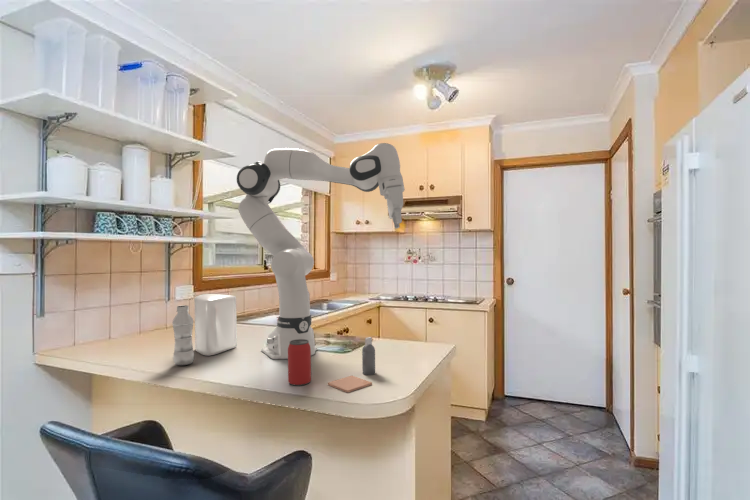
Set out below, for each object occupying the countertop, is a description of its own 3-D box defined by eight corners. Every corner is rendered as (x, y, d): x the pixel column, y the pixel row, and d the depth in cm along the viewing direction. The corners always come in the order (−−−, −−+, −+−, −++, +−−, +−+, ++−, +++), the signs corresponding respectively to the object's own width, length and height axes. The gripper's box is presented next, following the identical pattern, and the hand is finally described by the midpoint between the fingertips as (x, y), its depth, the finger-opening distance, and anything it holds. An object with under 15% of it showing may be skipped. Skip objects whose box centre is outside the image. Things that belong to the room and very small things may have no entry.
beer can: (289, 379, 120) (289, 339, 120) (311, 378, 121) (311, 338, 121) (286, 386, 114) (286, 344, 114) (310, 385, 114) (309, 343, 114)
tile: (327, 384, 115) (327, 382, 115) (351, 377, 121) (351, 375, 121) (347, 392, 108) (347, 390, 108) (372, 384, 115) (372, 382, 115)
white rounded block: (211, 357, 147) (210, 296, 147) (181, 354, 152) (179, 295, 151) (238, 347, 161) (237, 292, 161) (210, 344, 166) (209, 291, 166)
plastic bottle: (184, 368, 133) (183, 307, 133) (168, 366, 135) (167, 307, 135) (198, 363, 139) (197, 305, 139) (183, 361, 141) (182, 304, 141)
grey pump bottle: (359, 373, 125) (359, 337, 125) (369, 370, 128) (368, 335, 128) (368, 375, 122) (367, 339, 122) (378, 373, 125) (377, 337, 125)
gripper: (381, 196, 154) (388, 232, 152) (384, 180, 133) (391, 221, 132) (398, 194, 154) (404, 229, 152) (402, 177, 134) (410, 218, 132)
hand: (398, 225), depth 142 cm, fingers open, 8 cm apart
